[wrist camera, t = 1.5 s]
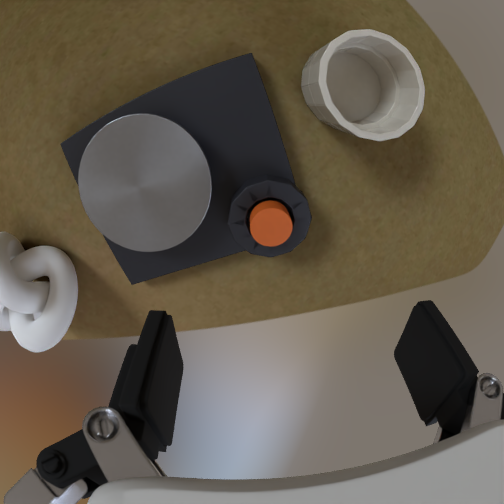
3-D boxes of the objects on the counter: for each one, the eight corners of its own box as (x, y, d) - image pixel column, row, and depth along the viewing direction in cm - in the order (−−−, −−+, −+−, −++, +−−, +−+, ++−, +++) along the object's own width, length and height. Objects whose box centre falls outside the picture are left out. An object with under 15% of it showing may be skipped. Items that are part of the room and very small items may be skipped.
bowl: (371, 40, 16) (407, 27, 11) (393, 121, 19) (433, 130, 14) (287, 53, 17) (302, 37, 12) (315, 139, 20) (337, 151, 15)
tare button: (283, 194, 19) (286, 202, 18) (293, 230, 21) (297, 240, 19) (244, 207, 20) (244, 215, 18) (256, 241, 21) (257, 251, 20)
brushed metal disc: (180, 88, 15) (179, 88, 15) (233, 225, 20) (233, 227, 20) (62, 153, 17) (59, 154, 16) (117, 264, 21) (115, 267, 21)
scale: (255, 54, 17) (257, 46, 14) (310, 226, 23) (318, 243, 21) (68, 140, 19) (49, 147, 16) (138, 279, 26) (128, 298, 23)
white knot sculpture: (90, 229, 23) (37, 287, 15) (96, 323, 29) (67, 383, 21) (8, 209, 21) (-47, 251, 13) (24, 297, 27) (-12, 345, 19)
